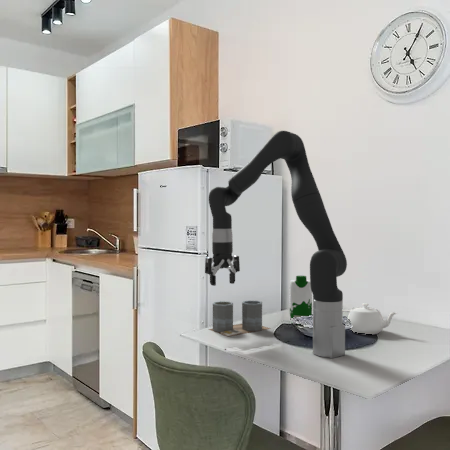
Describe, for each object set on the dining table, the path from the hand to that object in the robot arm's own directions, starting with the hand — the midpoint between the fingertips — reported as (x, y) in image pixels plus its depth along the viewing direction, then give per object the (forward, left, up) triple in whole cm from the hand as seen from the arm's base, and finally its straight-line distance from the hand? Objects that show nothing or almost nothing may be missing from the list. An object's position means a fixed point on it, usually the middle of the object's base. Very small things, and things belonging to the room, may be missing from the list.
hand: (222, 284), depth 176 cm
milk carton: (-8, -32, -18) cm, 38 cm away
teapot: (-30, -45, -19) cm, 57 cm away
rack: (-2, -6, -18) cm, 19 cm away
